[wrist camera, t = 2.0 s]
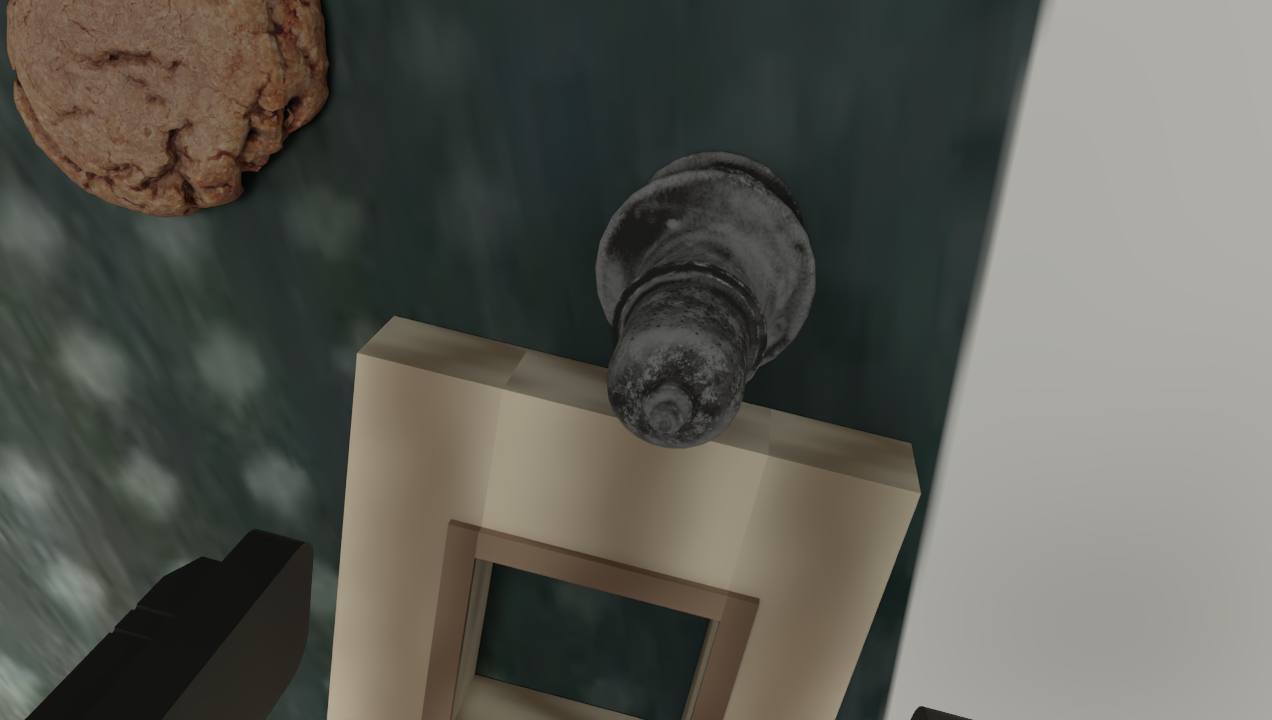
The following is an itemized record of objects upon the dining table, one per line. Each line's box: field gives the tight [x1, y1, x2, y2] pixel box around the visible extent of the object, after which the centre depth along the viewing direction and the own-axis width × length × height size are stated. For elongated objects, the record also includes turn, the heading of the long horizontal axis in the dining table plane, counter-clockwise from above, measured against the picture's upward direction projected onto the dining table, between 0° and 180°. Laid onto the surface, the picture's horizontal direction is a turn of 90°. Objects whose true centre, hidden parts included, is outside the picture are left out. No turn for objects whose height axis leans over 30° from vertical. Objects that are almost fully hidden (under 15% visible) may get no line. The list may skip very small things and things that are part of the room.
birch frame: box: [327, 316, 921, 720], centre depth 35 cm, size 17×20×3 cm
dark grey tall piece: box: [595, 151, 815, 449], centre depth 25 cm, size 6×6×12 cm
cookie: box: [7, 0, 329, 217], centre depth 29 cm, size 10×11×3 cm
